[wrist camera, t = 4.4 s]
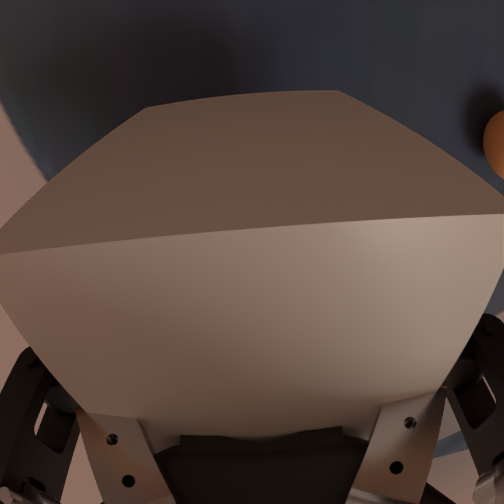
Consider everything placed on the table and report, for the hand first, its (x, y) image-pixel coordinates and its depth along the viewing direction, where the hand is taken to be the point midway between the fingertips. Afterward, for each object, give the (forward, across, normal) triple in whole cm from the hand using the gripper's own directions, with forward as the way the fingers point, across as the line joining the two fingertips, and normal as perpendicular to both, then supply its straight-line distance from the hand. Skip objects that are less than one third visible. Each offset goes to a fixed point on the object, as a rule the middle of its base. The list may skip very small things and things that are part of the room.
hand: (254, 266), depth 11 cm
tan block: (+2, 0, 0) cm, 2 cm away
